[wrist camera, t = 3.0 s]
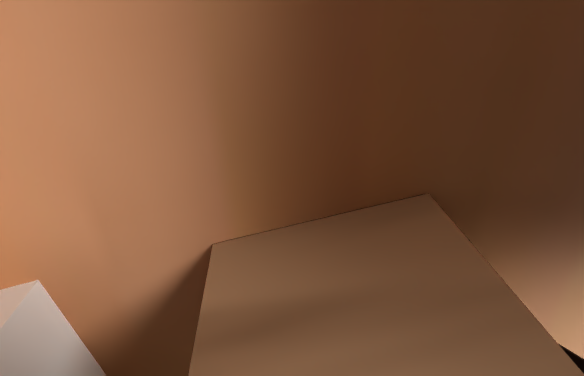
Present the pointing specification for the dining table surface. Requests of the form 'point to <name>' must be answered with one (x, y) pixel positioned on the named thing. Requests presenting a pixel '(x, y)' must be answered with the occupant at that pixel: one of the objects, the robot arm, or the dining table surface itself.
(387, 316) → the walnut cube
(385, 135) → the dining table surface
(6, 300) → the block
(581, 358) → the robot arm
